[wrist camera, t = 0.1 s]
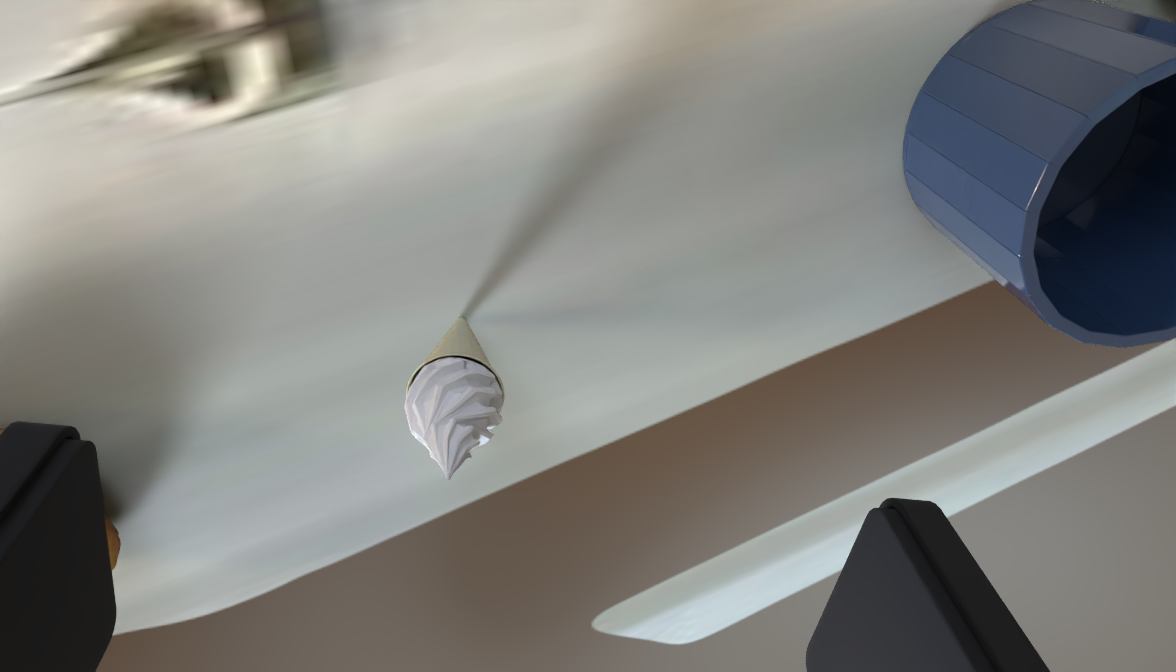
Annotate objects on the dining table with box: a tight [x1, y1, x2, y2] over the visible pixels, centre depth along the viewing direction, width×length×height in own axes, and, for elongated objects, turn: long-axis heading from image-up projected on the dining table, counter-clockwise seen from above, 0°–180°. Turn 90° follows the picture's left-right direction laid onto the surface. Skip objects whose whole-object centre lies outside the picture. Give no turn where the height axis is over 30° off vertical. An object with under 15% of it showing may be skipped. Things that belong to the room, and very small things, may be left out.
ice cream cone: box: [404, 317, 504, 480], centre depth 44 cm, size 5×5×15 cm
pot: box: [903, 0, 1176, 348], centre depth 42 cm, size 14×14×12 cm
